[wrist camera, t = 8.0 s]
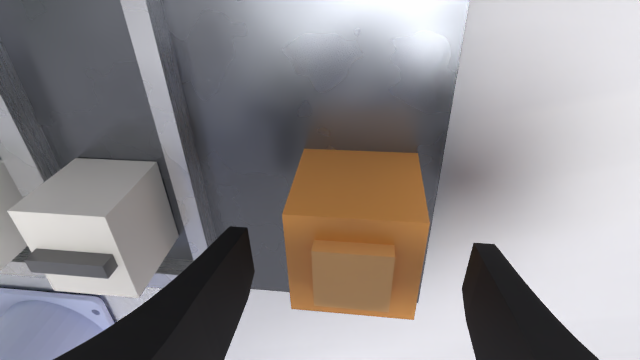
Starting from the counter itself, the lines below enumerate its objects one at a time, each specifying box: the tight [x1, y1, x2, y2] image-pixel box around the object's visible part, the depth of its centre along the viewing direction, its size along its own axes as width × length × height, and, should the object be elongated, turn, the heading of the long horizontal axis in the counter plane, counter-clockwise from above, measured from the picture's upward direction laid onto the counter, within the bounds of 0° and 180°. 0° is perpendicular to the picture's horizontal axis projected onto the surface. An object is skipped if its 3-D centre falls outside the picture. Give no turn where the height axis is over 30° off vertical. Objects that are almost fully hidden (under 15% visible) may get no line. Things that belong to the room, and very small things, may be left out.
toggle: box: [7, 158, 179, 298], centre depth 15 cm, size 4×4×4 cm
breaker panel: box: [0, 0, 470, 303], centre depth 15 cm, size 17×24×2 cm
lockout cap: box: [282, 149, 430, 320], centre depth 14 cm, size 4×4×4 cm
